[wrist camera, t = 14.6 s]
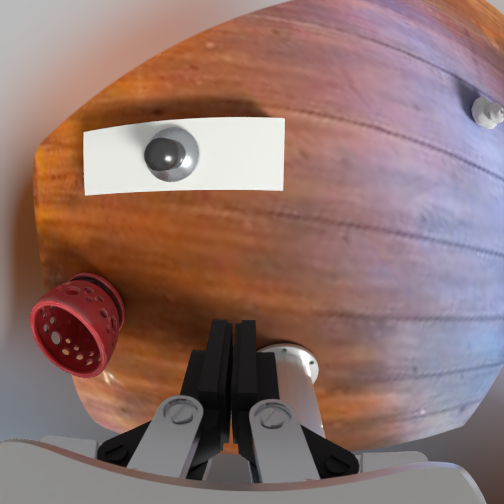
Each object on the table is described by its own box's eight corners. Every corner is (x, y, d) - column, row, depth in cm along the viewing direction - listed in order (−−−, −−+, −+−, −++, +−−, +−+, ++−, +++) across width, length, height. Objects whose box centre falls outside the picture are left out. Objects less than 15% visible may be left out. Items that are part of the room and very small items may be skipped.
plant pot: (83, 335, 43) (52, 375, 32) (59, 268, 39) (16, 300, 28) (144, 335, 43) (118, 384, 32) (121, 261, 39) (81, 298, 27)
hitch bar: (278, 185, 36) (282, 190, 30) (104, 189, 35) (85, 195, 30) (279, 124, 33) (284, 118, 28) (103, 134, 33) (83, 132, 28)
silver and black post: (207, 177, 35) (190, 184, 25) (162, 179, 35) (131, 187, 25) (207, 131, 33) (191, 120, 23) (161, 133, 33) (131, 126, 23)
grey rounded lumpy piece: (461, 106, 31) (493, 102, 23) (479, 92, 29) (509, 87, 22) (475, 135, 32) (508, 136, 24) (492, 119, 31) (523, 119, 23)
